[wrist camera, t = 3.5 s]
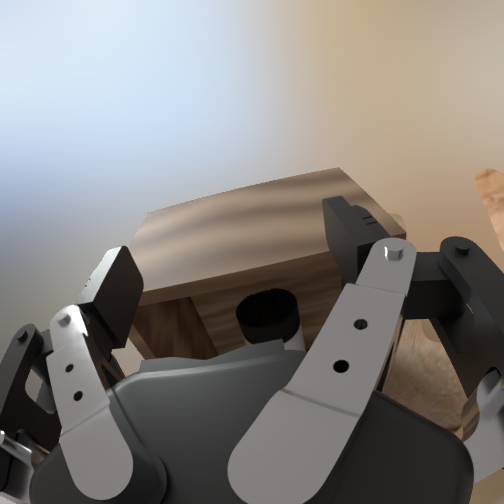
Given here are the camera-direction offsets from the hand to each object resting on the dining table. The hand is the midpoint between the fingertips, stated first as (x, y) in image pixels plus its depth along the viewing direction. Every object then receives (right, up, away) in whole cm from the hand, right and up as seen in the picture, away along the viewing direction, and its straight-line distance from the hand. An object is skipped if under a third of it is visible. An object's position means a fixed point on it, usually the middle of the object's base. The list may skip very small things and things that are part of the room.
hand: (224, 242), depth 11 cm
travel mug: (+7, -22, +27) cm, 36 cm away
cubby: (+7, -21, +29) cm, 36 cm away
